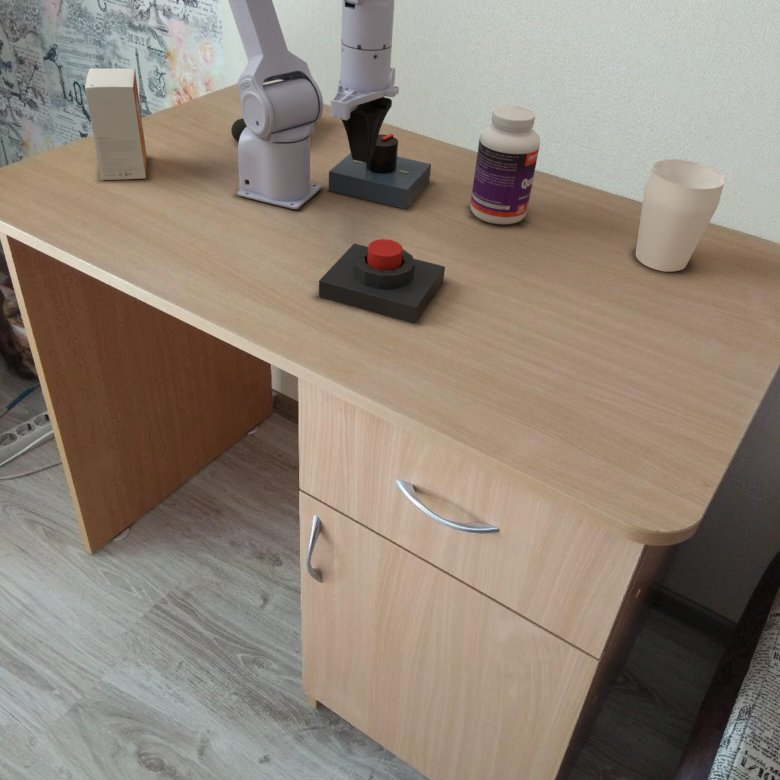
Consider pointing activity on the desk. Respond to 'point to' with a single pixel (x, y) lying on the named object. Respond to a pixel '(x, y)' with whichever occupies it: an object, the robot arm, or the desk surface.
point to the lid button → (384, 254)
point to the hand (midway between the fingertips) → (361, 159)
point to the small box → (116, 123)
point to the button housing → (382, 284)
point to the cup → (676, 212)
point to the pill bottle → (505, 166)
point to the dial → (384, 155)
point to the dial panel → (380, 181)
